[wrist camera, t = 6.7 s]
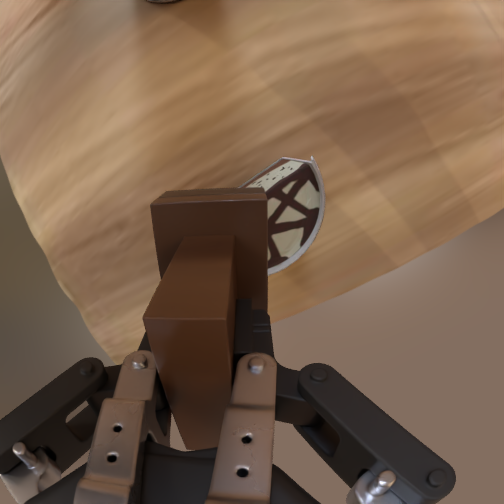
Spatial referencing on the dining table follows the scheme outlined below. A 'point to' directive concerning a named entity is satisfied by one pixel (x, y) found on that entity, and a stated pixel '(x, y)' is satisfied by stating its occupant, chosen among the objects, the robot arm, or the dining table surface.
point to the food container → (291, 208)
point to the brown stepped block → (204, 298)
